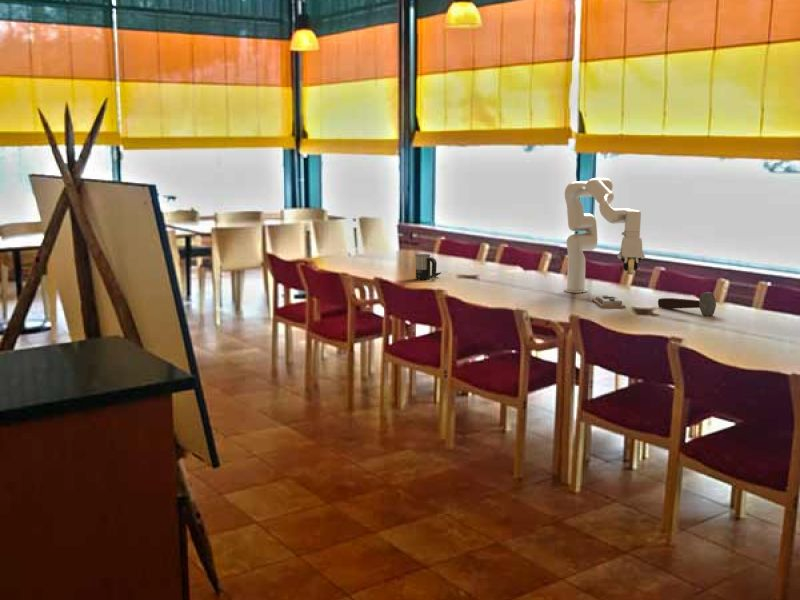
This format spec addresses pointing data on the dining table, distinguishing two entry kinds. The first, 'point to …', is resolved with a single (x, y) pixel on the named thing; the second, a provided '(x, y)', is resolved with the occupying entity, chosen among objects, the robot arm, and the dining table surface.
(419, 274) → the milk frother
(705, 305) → the hammer
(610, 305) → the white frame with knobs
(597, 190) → the robot arm
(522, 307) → the dining table surface
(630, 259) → the pin
